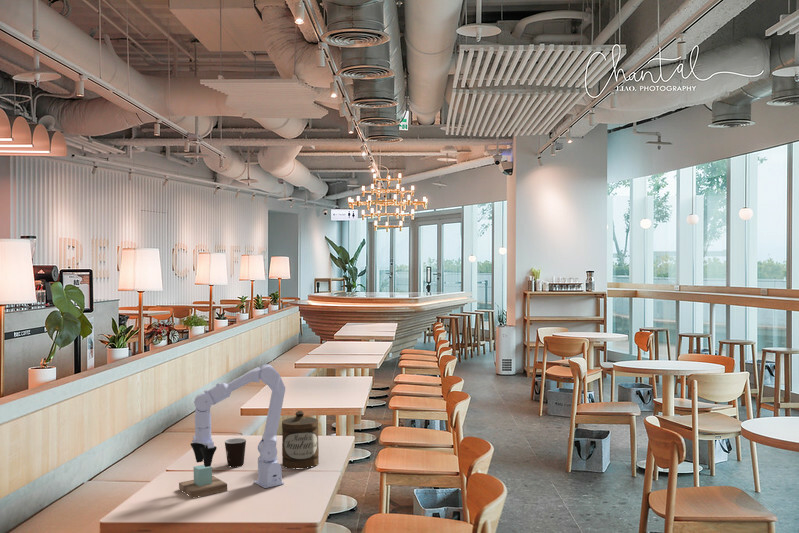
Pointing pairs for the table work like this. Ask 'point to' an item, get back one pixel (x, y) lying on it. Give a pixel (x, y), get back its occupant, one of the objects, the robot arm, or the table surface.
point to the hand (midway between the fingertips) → (203, 464)
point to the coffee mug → (235, 451)
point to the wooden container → (300, 441)
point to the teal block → (202, 475)
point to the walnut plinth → (203, 487)
